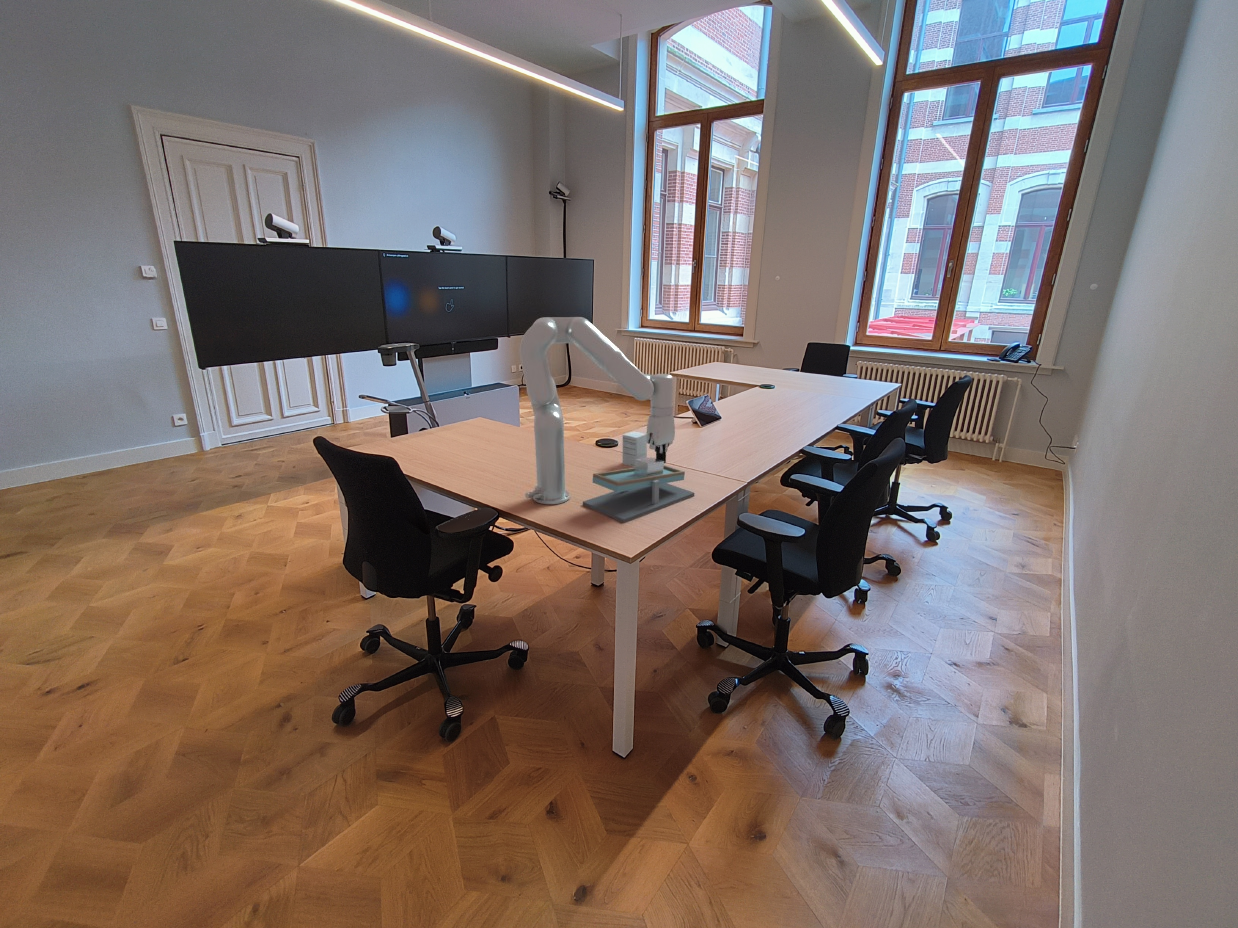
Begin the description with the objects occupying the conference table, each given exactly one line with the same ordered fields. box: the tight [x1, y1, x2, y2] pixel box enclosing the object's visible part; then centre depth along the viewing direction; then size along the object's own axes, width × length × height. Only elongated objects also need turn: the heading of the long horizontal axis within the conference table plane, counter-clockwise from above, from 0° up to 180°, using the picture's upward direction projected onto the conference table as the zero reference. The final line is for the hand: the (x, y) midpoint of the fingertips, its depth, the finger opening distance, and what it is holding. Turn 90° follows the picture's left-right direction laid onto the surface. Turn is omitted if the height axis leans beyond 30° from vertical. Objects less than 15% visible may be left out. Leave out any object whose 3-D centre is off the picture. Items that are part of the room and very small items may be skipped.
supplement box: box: [622, 431, 648, 468], centre depth 228 cm, size 7×7×13 cm
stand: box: [582, 480, 695, 524], centre depth 190 cm, size 34×20×9 cm, turn 133°
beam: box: [592, 464, 686, 492], centre depth 189 cm, size 32×12×3 cm, turn 133°
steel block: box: [633, 457, 665, 477], centre depth 191 cm, size 8×6×5 cm
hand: (660, 462), depth 195 cm, fingers closed
